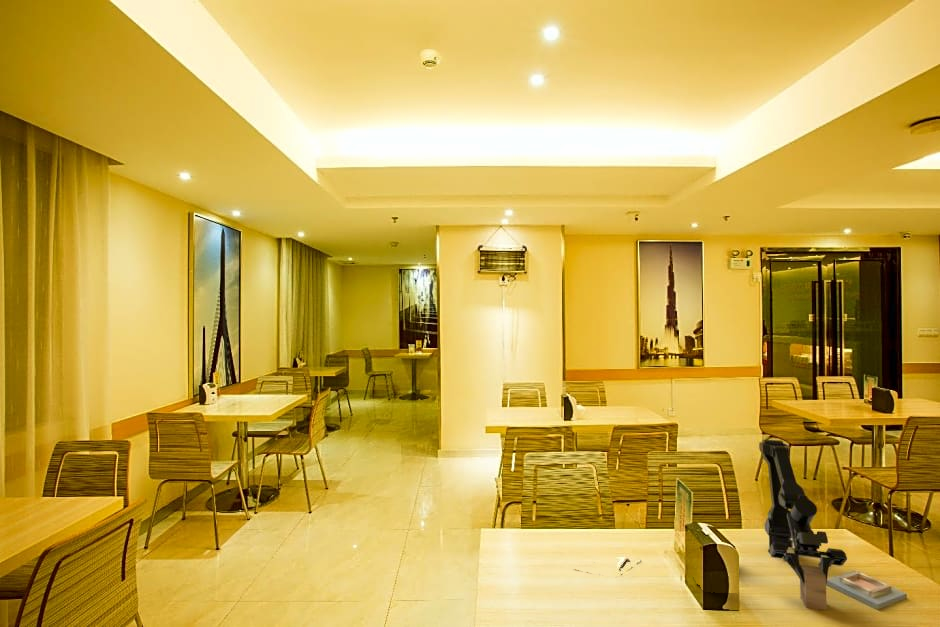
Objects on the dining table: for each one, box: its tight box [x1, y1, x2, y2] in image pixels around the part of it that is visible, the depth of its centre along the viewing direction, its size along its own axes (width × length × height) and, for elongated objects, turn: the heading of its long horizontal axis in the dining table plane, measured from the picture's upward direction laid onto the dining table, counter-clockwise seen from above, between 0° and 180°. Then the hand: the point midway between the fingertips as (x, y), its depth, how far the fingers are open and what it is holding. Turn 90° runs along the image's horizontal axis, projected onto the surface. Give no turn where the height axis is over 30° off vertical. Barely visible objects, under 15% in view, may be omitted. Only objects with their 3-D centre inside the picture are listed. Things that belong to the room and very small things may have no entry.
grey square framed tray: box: [826, 570, 908, 610], centre depth 146 cm, size 14×14×3 cm
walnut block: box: [799, 564, 828, 611], centre depth 140 cm, size 5×5×10 cm
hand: (814, 584), depth 139 cm, fingers closed on walnut block, 5 cm apart
